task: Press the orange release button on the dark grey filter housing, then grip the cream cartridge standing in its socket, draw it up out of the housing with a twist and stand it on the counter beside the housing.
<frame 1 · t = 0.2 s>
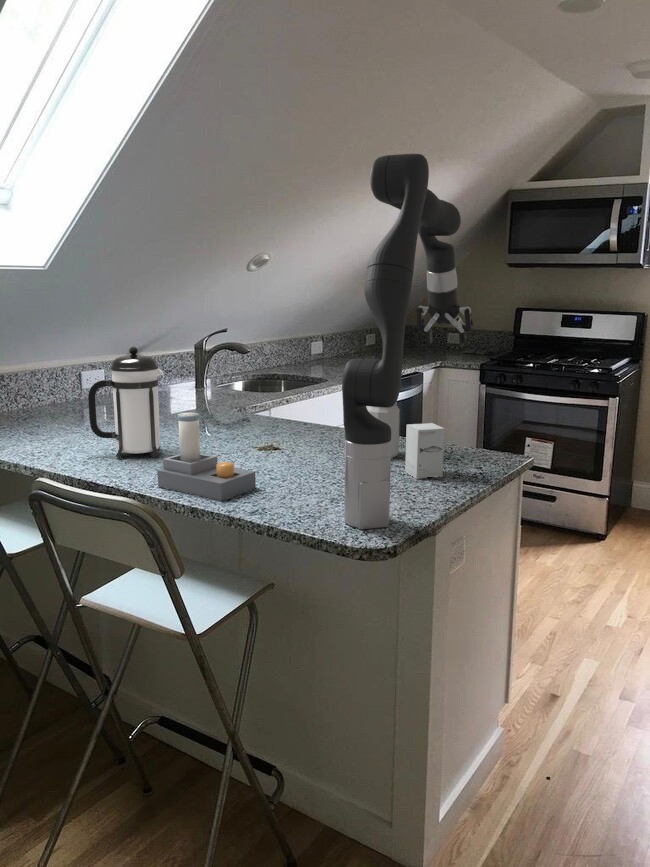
hand: (446, 343, 195), 31 cm above the worktop, tool tilted 20°, fingers open, 8 cm apart
button: (225, 472, 171), point 4 cm above the worktop, slide at 0.0 cm
supplement box: (423, 475, 186), on the worktop
housing: (206, 487, 175), on the worktop
coffee press: (134, 455, 206), on the worktop
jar: (380, 456, 205), on the worktop
cartridge: (190, 467, 177), point 4 cm above the worktop, touching housing
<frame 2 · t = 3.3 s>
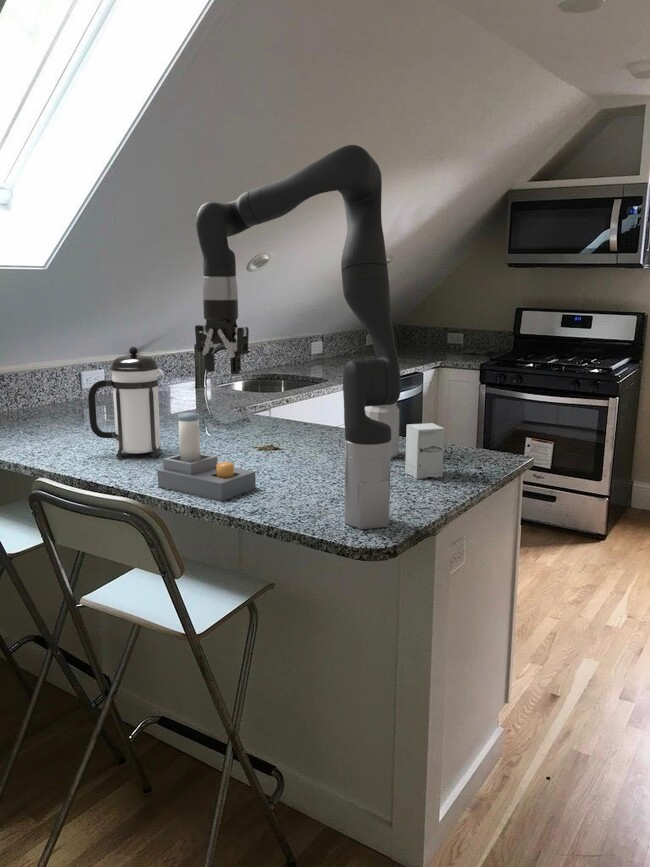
hand: (222, 372, 166), 28 cm above the worktop, tool pointing down, fingers open, 7 cm apart
nothing on the worktop moved.
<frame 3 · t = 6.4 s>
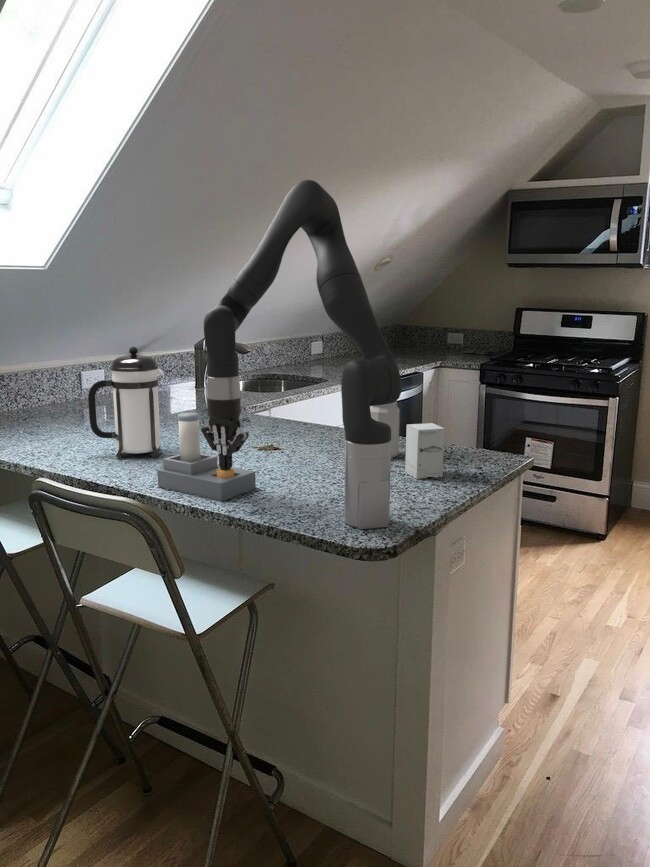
hand: (225, 469, 171), 5 cm above the worktop, tool pointing down, fingers closed
button: (225, 478, 171), point 3 cm above the worktop, slide at 1.3 cm, touching gripper
everything else where it was.
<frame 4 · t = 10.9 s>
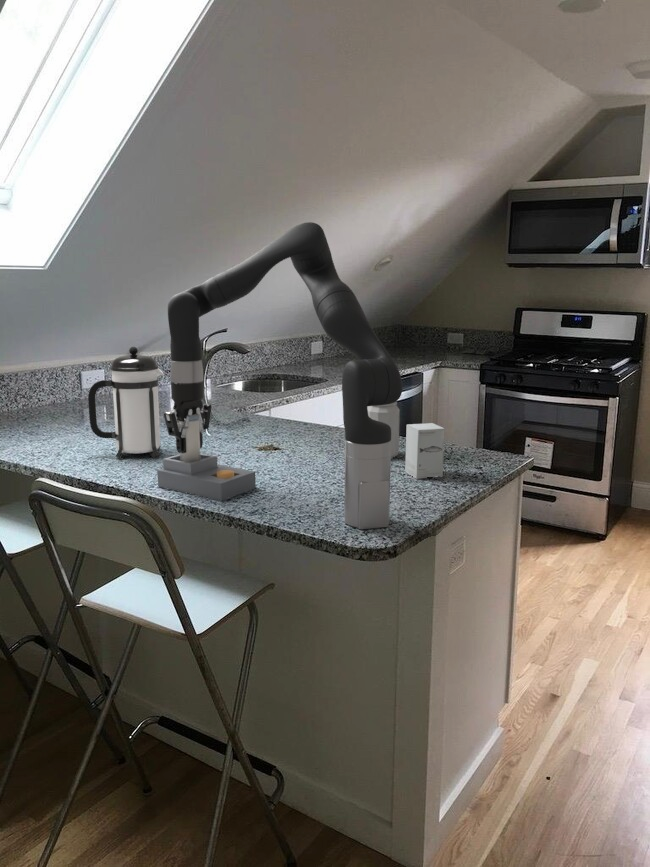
hand: (189, 450, 176), 8 cm above the worktop, tool pointing down, fingers closed on cartridge, 4 cm apart
button: (225, 480, 171), point 3 cm above the worktop, slide at 1.8 cm
cartridge: (190, 467, 177), point 4 cm above the worktop, touching gripper, housing
everything else where it was.
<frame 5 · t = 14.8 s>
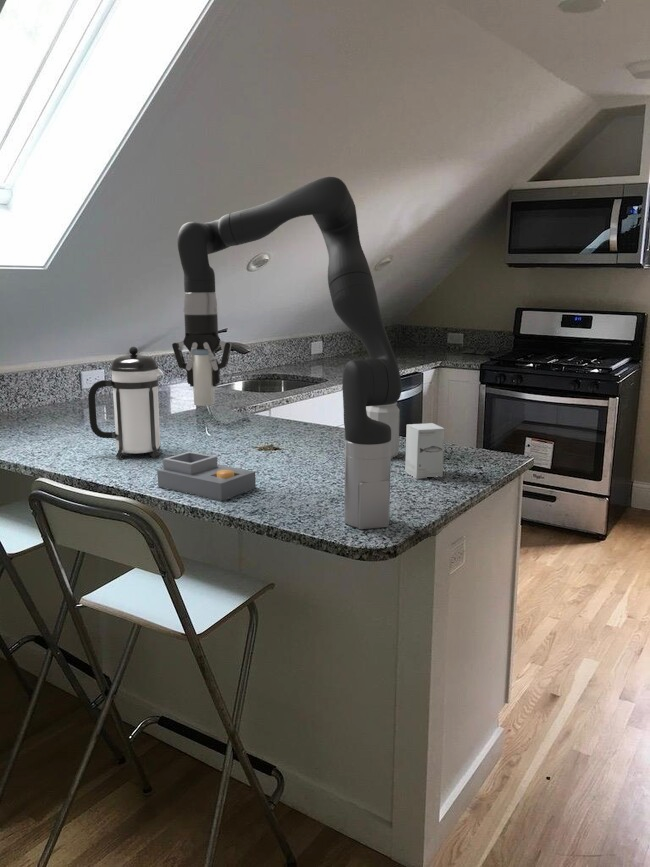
hand: (203, 385, 173), 24 cm above the worktop, tool pointing down, fingers closed on cartridge, 4 cm apart
cartridge: (204, 404, 174), point 19 cm above the worktop, touching gripper
everything else where it was.
when the fingers open (6 cm above the worktop, at t = 18.9 s): cartridge drops 1 cm, on the worktop.
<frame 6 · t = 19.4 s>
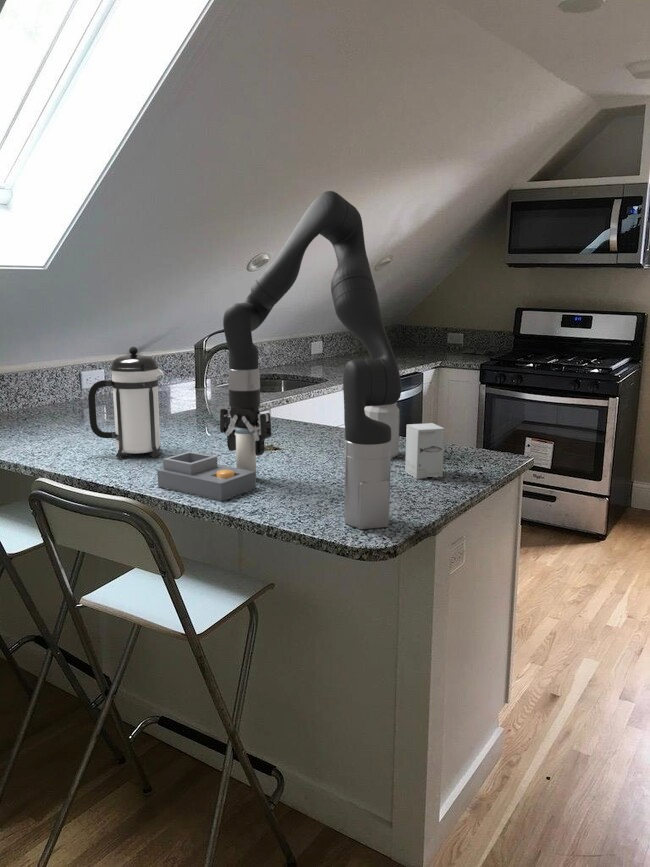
hand: (245, 452, 181), 7 cm above the worktop, tool pointing down, fingers open, 8 cm apart
cartridge: (246, 478, 182), on the worktop
everything else where it was.
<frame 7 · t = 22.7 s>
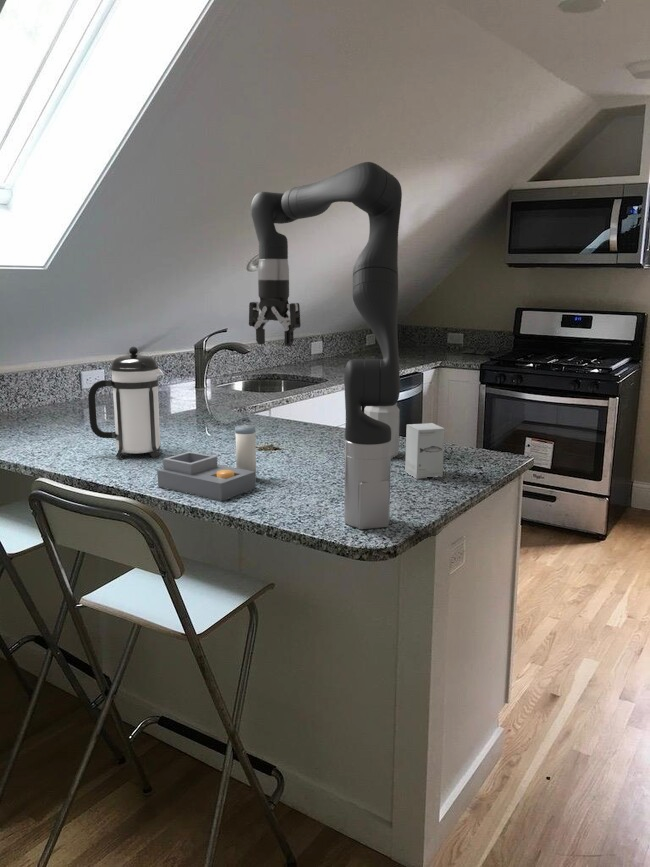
hand: (274, 345, 183), 32 cm above the worktop, tool pointing down, fingers open, 8 cm apart
nothing on the worktop moved.
at the end: cartridge inside the target area (0.7 cm from its centre), on the worktop; cartridge tilted 0°; button slide at 1.8 cm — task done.
